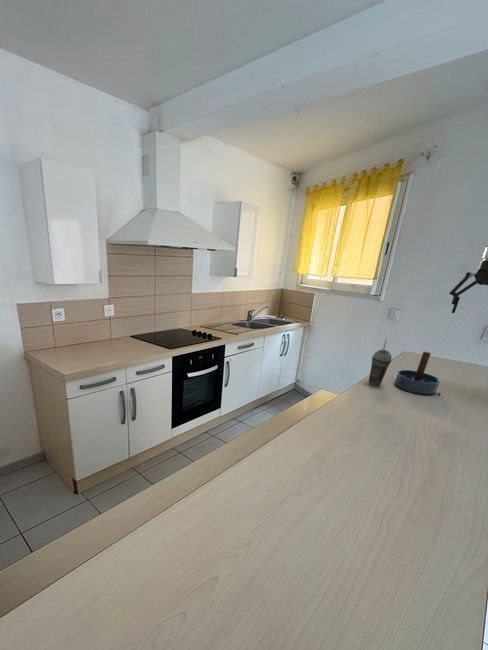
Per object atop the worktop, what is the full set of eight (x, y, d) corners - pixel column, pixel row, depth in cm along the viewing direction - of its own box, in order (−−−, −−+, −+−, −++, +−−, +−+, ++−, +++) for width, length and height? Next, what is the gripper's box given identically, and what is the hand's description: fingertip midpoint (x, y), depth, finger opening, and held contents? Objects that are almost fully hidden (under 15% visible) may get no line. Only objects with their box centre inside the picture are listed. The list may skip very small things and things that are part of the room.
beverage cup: (368, 386, 138) (381, 341, 130) (362, 380, 145) (374, 337, 137) (386, 388, 137) (400, 342, 129) (379, 382, 144) (393, 338, 136)
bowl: (438, 389, 139) (443, 377, 137) (431, 398, 129) (436, 386, 127) (399, 378, 149) (402, 367, 147) (389, 386, 139) (393, 375, 137)
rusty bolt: (424, 386, 139) (436, 353, 133) (418, 388, 136) (431, 354, 131) (412, 382, 143) (423, 350, 137) (406, 384, 140) (418, 351, 134)
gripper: (539, 262, 119) (514, 319, 127) (455, 259, 135) (438, 310, 143) (539, 261, 114) (514, 321, 122) (452, 258, 130) (435, 311, 138)
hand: (473, 315), depth 133 cm, fingers open, 13 cm apart
